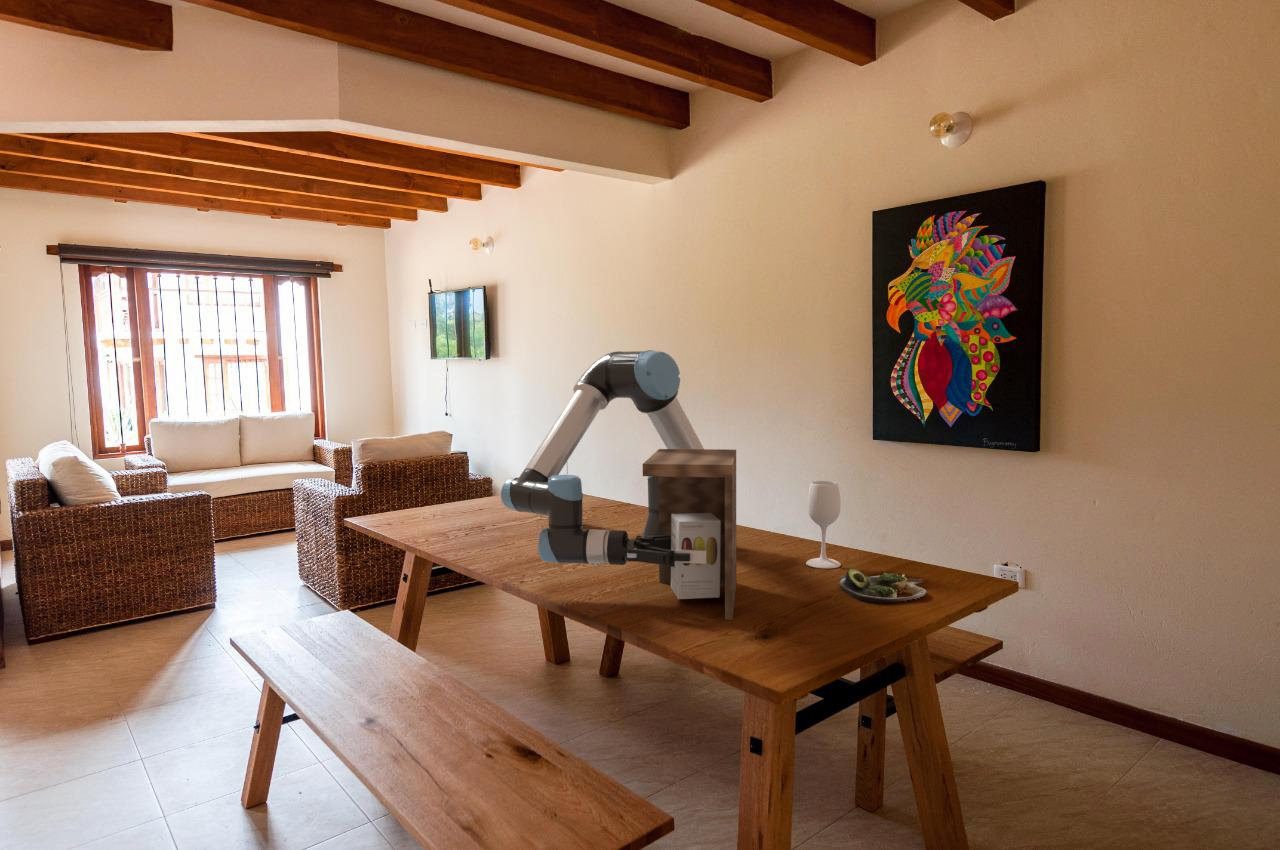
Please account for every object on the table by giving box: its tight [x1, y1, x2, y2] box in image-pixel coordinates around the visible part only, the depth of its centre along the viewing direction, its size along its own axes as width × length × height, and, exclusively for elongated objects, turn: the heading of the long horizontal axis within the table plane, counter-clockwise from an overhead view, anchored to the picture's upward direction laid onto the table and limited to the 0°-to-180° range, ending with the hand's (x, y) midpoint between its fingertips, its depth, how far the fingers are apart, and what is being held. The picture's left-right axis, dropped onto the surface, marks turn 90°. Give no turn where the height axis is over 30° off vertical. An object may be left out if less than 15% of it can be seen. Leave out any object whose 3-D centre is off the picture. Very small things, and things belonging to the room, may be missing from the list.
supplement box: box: [670, 513, 721, 600], centre depth 169 cm, size 10×9×17 cm
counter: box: [642, 448, 737, 621], centre depth 169 cm, size 18×26×32 cm
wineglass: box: [805, 480, 842, 570], centre depth 197 cm, size 9×9×21 cm
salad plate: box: [839, 568, 928, 604], centre depth 175 cm, size 19×18×5 cm
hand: (708, 550), depth 168 cm, fingers closed on supplement box, 11 cm apart
